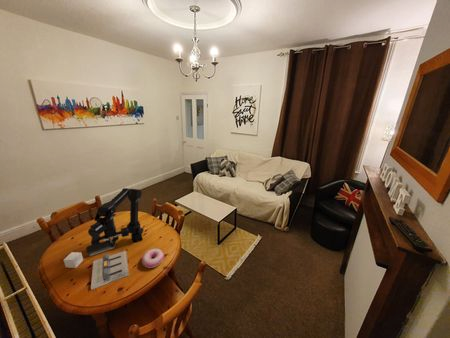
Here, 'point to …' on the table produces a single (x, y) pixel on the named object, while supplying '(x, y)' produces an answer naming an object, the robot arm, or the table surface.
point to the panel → (110, 269)
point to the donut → (155, 261)
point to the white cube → (73, 260)
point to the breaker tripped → (105, 264)
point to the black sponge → (98, 248)
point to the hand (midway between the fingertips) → (113, 247)
